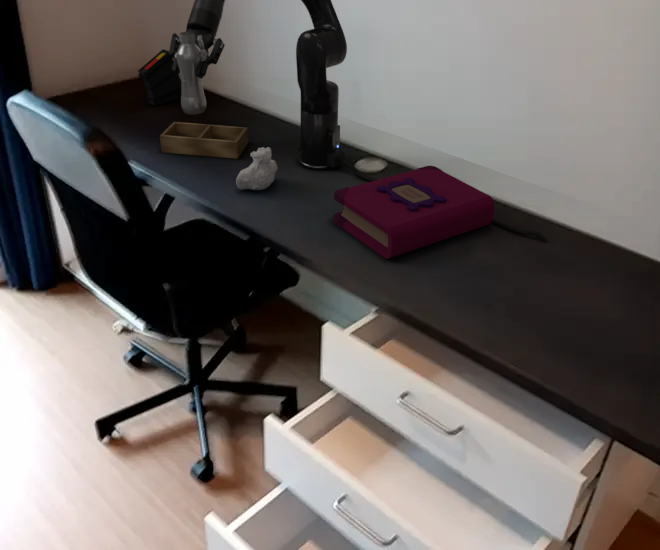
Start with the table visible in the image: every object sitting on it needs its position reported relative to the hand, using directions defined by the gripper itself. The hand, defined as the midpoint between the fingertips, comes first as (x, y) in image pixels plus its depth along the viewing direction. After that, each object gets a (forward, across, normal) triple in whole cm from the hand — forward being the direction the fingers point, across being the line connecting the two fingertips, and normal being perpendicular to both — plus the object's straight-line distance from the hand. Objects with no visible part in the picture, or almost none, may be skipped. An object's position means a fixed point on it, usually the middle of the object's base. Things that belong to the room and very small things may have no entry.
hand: (187, 75), depth 178 cm
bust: (+25, +25, +4) cm, 35 cm away
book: (+28, +63, 0) cm, 69 cm away
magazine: (-7, -27, +35) cm, 45 cm away
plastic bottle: (+6, 0, +9) cm, 11 cm away
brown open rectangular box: (+12, +2, +15) cm, 20 cm away
